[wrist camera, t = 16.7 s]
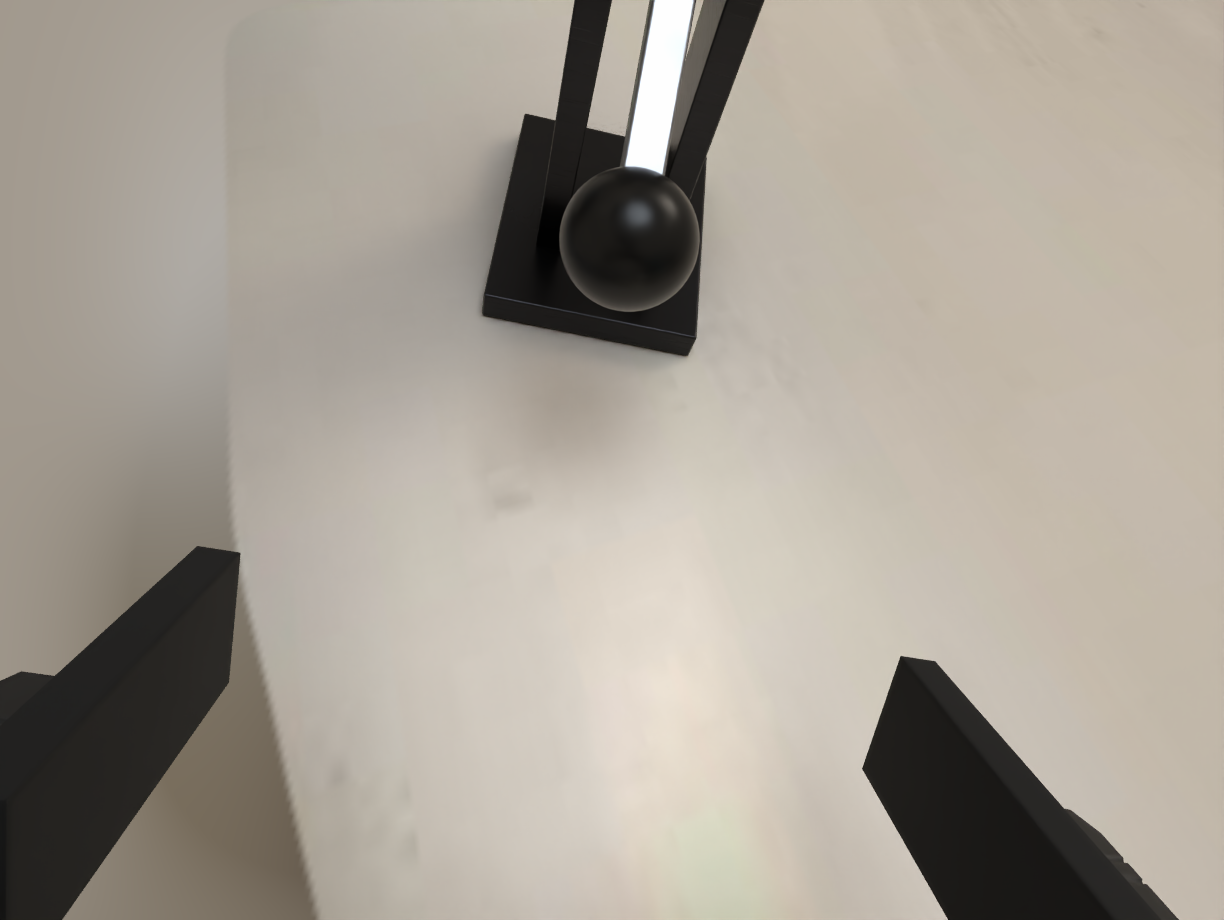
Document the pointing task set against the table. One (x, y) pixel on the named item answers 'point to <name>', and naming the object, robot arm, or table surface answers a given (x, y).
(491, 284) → the switch bracket
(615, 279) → the switch lever
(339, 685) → the table surface
